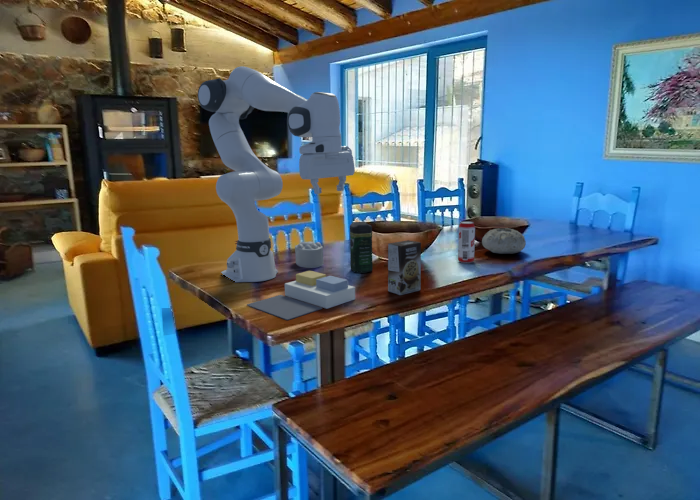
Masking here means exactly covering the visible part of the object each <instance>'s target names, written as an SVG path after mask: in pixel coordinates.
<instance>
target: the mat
mask: <svg viewBox="0 0 700 500" xmlns="http://www.w3.org/2000/svg"><path fill="white" fill-rule="evenodd" d="M247 306H248V307H250V308H253V309H256V310H258V311H260V312H264V313H266V314H269V315H271V316H275V317H277V318H280V319H282V320H285V321H290V320H293V319H296V318H300V317H302V316H305V315H308V314H312V313H314V312H317V311H319V310H322V309H323V307H320V306H317V305H314V304H310V303H307V302H304V301H301V300H298V299H295V298H291V297H288V296H285V295H283V294H279V295H275V296H272V297H267V298H264V299H262V300H257V301H254V302H251V303H250V302H249V303H247V304H246V307H247Z"/></svg>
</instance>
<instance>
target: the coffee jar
mask: <svg viewBox="0 0 700 500" xmlns="http://www.w3.org/2000/svg"><path fill="white" fill-rule="evenodd" d="M349 241H350V244H349V245H350V246H349V247H350V248H349V249H350V250H349V254H350V258H349V261H350V262H349V263H350V269H351V270H352V272H354V273H361V274H367V273H369V272H372V271H373V267H374V265H373V227H372V225H371V224H368V223H366V222H364V221H353V222H351V223H350V225H349Z"/></svg>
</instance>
